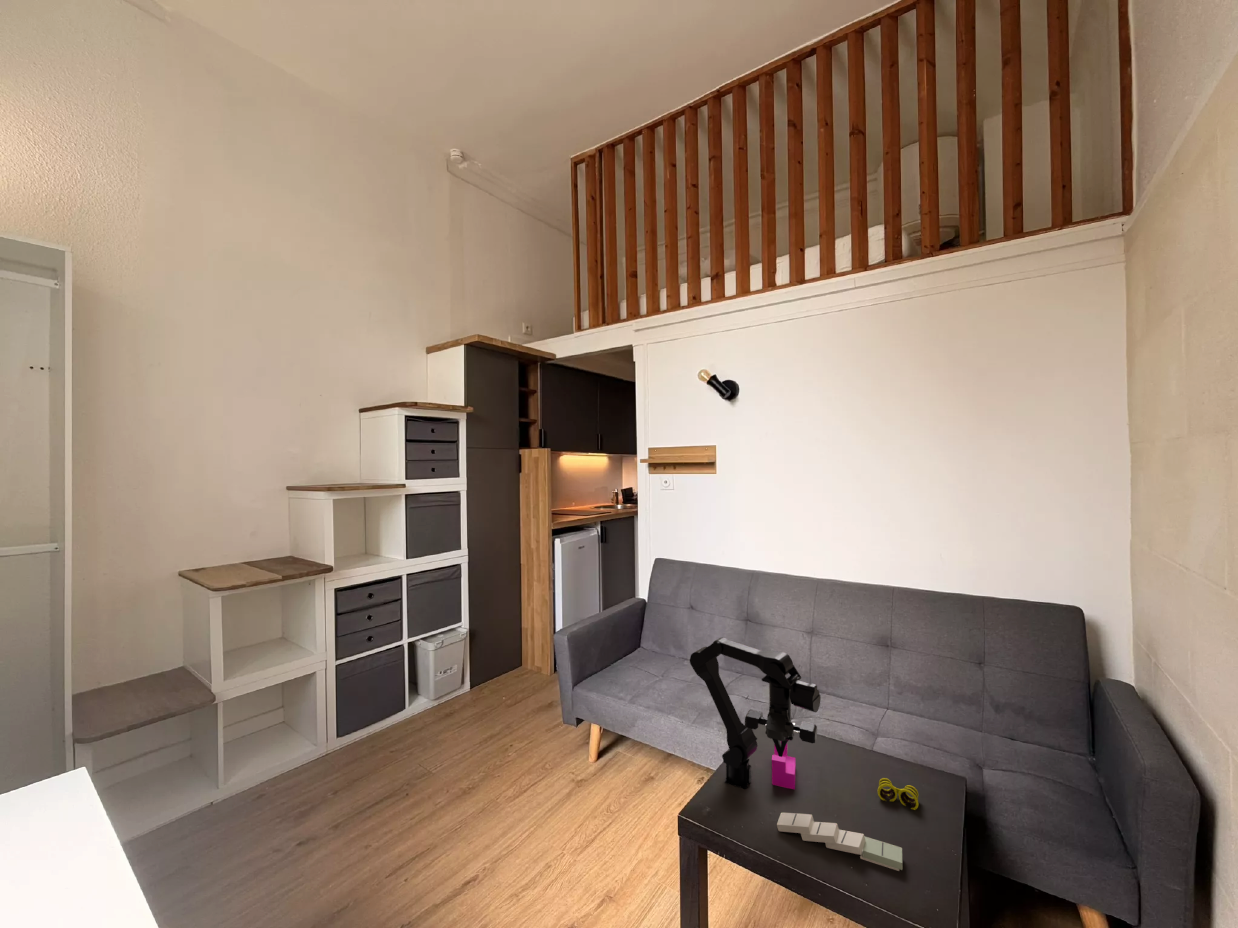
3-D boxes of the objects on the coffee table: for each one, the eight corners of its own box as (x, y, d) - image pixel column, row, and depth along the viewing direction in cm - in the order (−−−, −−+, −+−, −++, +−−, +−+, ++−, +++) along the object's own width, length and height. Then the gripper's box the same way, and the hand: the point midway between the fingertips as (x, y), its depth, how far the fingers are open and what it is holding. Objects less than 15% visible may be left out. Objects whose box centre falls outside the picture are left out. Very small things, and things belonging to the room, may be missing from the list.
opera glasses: (918, 802, 134) (918, 784, 134) (918, 814, 130) (918, 795, 130) (879, 790, 139) (878, 772, 139) (877, 801, 135) (877, 783, 135)
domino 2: (800, 833, 121) (833, 835, 117) (804, 820, 125) (836, 822, 121) (802, 840, 121) (835, 843, 117) (807, 827, 125) (839, 829, 121)
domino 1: (776, 823, 124) (808, 826, 120) (781, 811, 129) (811, 814, 125) (778, 830, 124) (810, 833, 120) (783, 818, 128) (813, 821, 124)
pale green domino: (863, 849, 115) (902, 862, 111) (864, 835, 119) (901, 847, 115) (863, 857, 115) (902, 869, 111) (864, 842, 119) (902, 854, 115)
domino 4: (860, 855, 115) (899, 867, 111) (860, 841, 120) (898, 852, 116) (860, 862, 115) (899, 875, 111) (860, 848, 120) (898, 859, 116)
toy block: (794, 790, 140) (794, 763, 140) (772, 785, 142) (771, 759, 142) (795, 760, 154) (795, 736, 154) (775, 756, 156) (774, 733, 156)
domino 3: (824, 840, 119) (858, 846, 114) (830, 827, 123) (863, 833, 118) (826, 847, 118) (860, 854, 114) (832, 834, 122) (865, 840, 118)
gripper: (739, 705, 133) (740, 762, 133) (812, 721, 124) (812, 782, 124) (749, 688, 143) (749, 741, 143) (817, 702, 134) (817, 759, 134)
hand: (780, 755), depth 136 cm, fingers closed
